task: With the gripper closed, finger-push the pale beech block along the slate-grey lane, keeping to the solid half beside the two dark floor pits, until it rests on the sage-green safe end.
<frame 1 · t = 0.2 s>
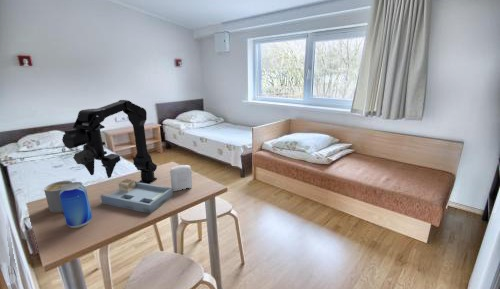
hand: (100, 176, 107), 14 cm above the table, fingers open, 9 cm apart
coffee mug: (64, 208, 109), on the table
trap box: (138, 199, 116), on the table
beer can: (80, 223, 99), on the table
photo printer: (182, 188, 127), on the table
beech block: (127, 189, 122), point 2 cm above the table, touching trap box
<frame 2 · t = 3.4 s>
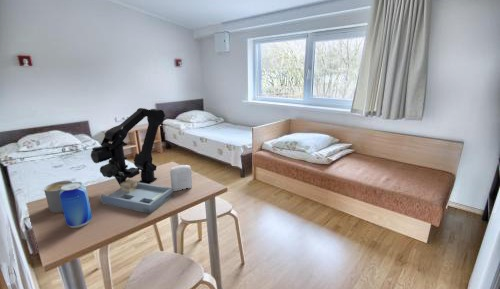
hand: (122, 186, 122), 3 cm above the table, fingers closed
beech block: (129, 189, 121), point 2 cm above the table, touching gripper
everything else where it was.
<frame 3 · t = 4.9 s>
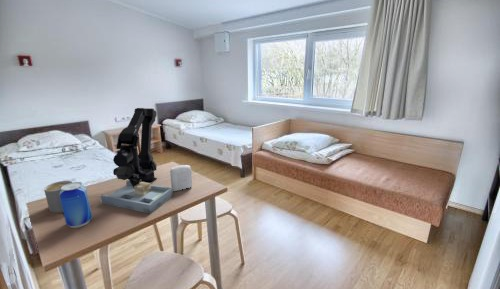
hand: (135, 189, 120), 3 cm above the table, fingers closed
beech block: (143, 192, 119), point 2 cm above the table, touching gripper, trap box
everything else where it was.
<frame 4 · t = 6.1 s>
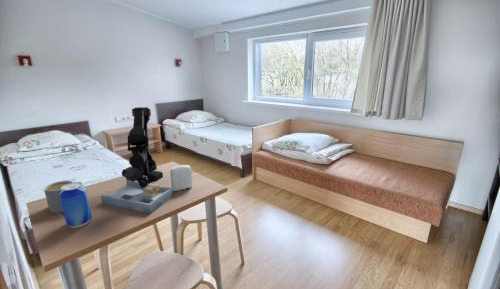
hand: (144, 190, 118), 3 cm above the table, fingers closed
beech block: (151, 194, 117), point 2 cm above the table, touching gripper
everything else where it was.
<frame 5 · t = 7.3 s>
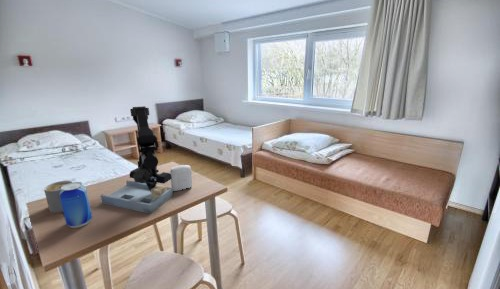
hand: (152, 192, 117), 3 cm above the table, fingers closed
beech block: (159, 195, 116), point 2 cm above the table, touching gripper, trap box
everything else where it was.
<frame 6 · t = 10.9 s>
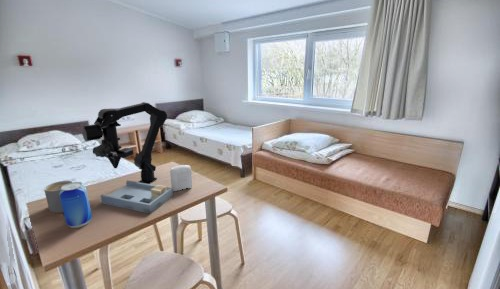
hand: (115, 168, 121), 12 cm above the table, fingers closed
beech block: (159, 195, 116), point 2 cm above the table, touching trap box
everything else where it was.
at the end: beech block inside the target area on the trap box (0.5 cm from its centre), point 2.0 cm above the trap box's base; beech block tilted 0° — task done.
